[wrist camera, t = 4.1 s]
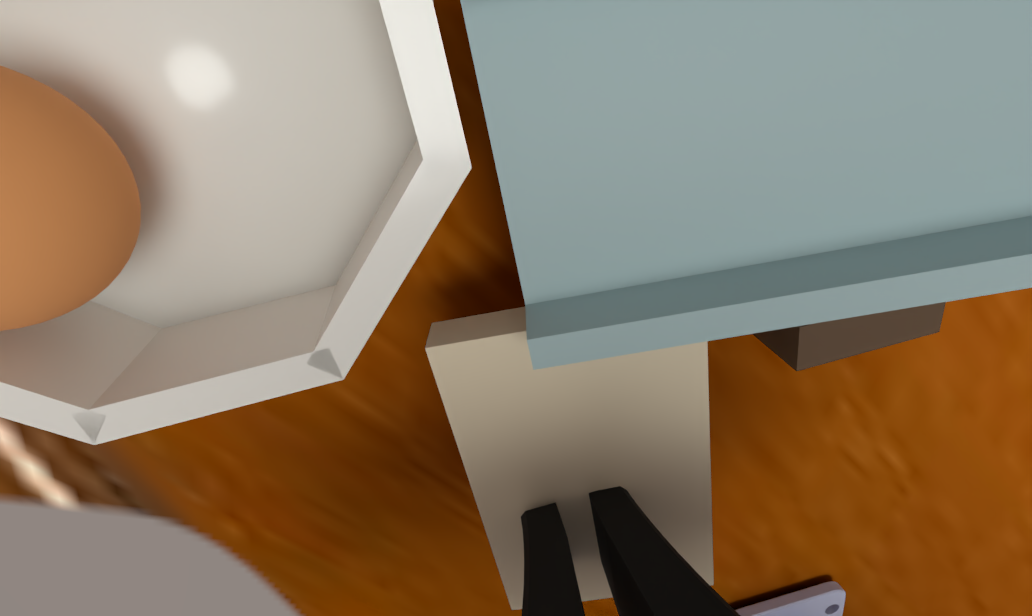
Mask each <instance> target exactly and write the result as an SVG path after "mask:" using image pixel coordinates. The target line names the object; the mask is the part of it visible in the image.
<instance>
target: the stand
mask: <svg viewBox="0 0 1032 616" xmlns="http://www.w3.org/2000/svg"><path fill="white" fill-rule="evenodd" d="M945 303H946V302H941V303H935V304H929V305H923V306H917V307H911V308H905V309H899V310H893V311H887V312H881V313H875V314H869V315H863V316H857V317H851V318H845V319H839V320H833V321H826V322H820V323H814V324H808V325H802V326H796V327H790V328H784V329H778V330H772V331H766V332H760V333H754V334H753V335H754V336H756V337H757V338H758V339H759V340H760V341H761V342H763V343H764V344H765V345H766V346H767V347H769V348H770V349H771V350H772V351H773V352H774V353H776V354H777V355H778V356H779V357H780V358H782V359H783V360H784V361H785V362H786V363H787V364H789V365H790V366H791V367H792V368H793V369H795V370H796V371H799V370H803V369H807V368H810V367H814V366H817V365H821V364H825V363H828V362H832V361H835V360H839V359H843V358H846V357H850V356H854V355H857V354H861V353H864V352H868V351H872V350H875V349H879V348H882V347H886V346H890V345H893V344H897V343H901V342H904V341H908V340H911V339H915V338H919V337H922V336H926V335H929V334H933V333H937V332H939V330H940V325H941V321H942V316H943V312H944V307H945Z"/></svg>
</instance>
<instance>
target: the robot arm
mask: <svg viewBox="0 0 1032 616" xmlns="http://www.w3.org/2000/svg"><path fill="white" fill-rule="evenodd" d="M589 498H590V503H591V509H592V514H593V520H594V525H595V531H596V536H597V542H598V547H599V553H600V558H601V562H602V565H603V568H604V571H605V574H606V578H607V581H608V584H609V587H610V590H611V593H612V596H613V599H614V601H615V604H616V607H617V610H618V613H619V616H842V615H843V609H844V603H845V597H846V593H845V591H844V590H843V588H842V587H841V586H840V585H839V584H838V583H837V582H833V581H829V582H825V583H821V584H818V585H815V586H812V587H808V588H805V589H802V590H798V591H795V592H792V593H789V594H785V595H782V596H779V597H776V598H772V599H769V600H766V601H762V602H759V603H756V604H753V605H749V606H746V607H743V608H739V609H736V610H734V609H733V608H732V607H731V606H730V605H729V604H728V603H727V602H726V601H725V600H724V599H723V598H722V597H721V596H720V595H719V594H718V593H717V592H716V591H715V590H714V589H713V588H712V587H711V586H710V585H709V584H708V583H707V582H706V581H705V580H704V579H703V578H702V577H701V576H700V575H699V574H698V573H697V572H696V571H695V570H694V569H693V568H692V567H691V566H690V564H689V563H688V562H687V561H686V560H685V559H684V558H683V557H682V556H681V555H680V554H679V553H678V552H677V551H676V550H675V548H674V547H673V546H672V545H671V544H670V543H669V542H668V541H667V540H666V538H665V537H664V536H663V535H662V534H661V533H660V531H659V530H658V529H657V528H656V527H655V526H654V524H653V523H652V522H651V521H650V520H649V518H648V517H647V516H646V515H645V514H644V512H643V511H642V510H641V509H640V507H639V506H638V505H637V503H636V502H635V501H634V499H633V498H632V497H631V495H630V494H629V493H628V491H627V490H626V489H624V488H623V487H621V486H618V487H613V488H608V489H602V490H597V491H594V492H590V493H589ZM521 522H522V529H523V542H524V589H523V604H522V616H585V614H584V609H583V605H582V600H581V596H580V591H579V587H578V582H577V578H576V573H575V569H574V564H573V560H572V555H571V551H570V546H569V542H568V537H567V534H566V531H565V528H564V525H563V522H562V519H561V516H560V513H559V510H558V507H557V505H556V502H555V503H551V504H548V505H544V506H541V507H537V508H534V509H530V510H527V511H525V512H524V513H523V514H522V516H521Z"/></svg>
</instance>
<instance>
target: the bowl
mask: <svg viewBox="0 0 1032 616" xmlns="http://www.w3.org/2000/svg"><path fill="white" fill-rule="evenodd" d="M0 66H4V67H6V68H9V69H11V70H14V71H16V72H19V73H22V74H24V75H27V76H29V77H31V78H33V79H35V80H37V81H39V82H41V83H43V84H45V85H47V86H49V87H51V88H52V89H54V90H56V91H57V92H59V93H60V94H62V95H64V96H65V97H67V98H68V99H70V100H71V101H73V102H74V103H75V104H76V105H78V106H79V107H80V108H82V109H83V110H84V111H86V112H87V113H88V114H89V115H90V116H91V117H92V118H93V119H94V120H95V121H96V122H97V123H99V124H100V125H101V126H102V127H103V128H104V130H105V131H106V132H107V133H108V134H109V136H110V137H111V138H112V139H113V140H114V141H115V143H116V144H117V146H118V147H119V149H120V150H121V152H122V153H123V155H124V156H125V158H126V160H127V162H128V164H129V166H130V168H131V171H132V173H133V175H134V178H135V181H136V184H137V187H138V192H139V198H140V204H141V224H140V230H139V235H138V239H137V242H136V245H135V247H134V250H133V252H132V254H131V256H130V259H129V260H128V262H127V263H126V265H125V266H124V268H123V269H122V271H121V272H120V274H119V275H118V276H117V277H116V278H115V279H114V280H113V281H112V283H111V284H110V285H109V286H108V287H107V288H105V289H104V290H103V291H102V292H101V293H99V294H98V295H97V296H96V297H94V298H93V299H91V300H90V301H88V302H86V303H85V304H83V305H82V306H80V307H78V308H76V309H74V310H72V311H70V312H68V313H66V314H64V315H62V316H59V317H57V318H54V319H51V320H48V321H45V322H42V323H39V324H35V325H31V326H27V327H22V328H17V329H10V330H3V331H0V417H2V418H6V419H9V420H12V421H16V422H19V423H22V424H26V425H29V426H32V427H36V428H39V429H42V430H46V431H49V432H53V433H56V434H59V435H63V436H66V437H69V438H73V439H76V440H79V441H83V442H86V443H89V444H93V445H96V444H100V443H104V442H108V441H111V440H115V439H119V438H123V437H127V436H130V435H134V434H138V433H142V432H146V431H149V430H153V429H157V428H161V427H165V426H169V425H172V424H176V423H180V422H184V421H188V420H191V419H195V418H199V417H203V416H207V415H211V414H214V413H218V412H222V411H226V410H230V409H233V408H237V407H241V406H245V405H249V404H252V403H256V402H260V401H264V400H268V399H272V398H275V397H279V396H283V395H287V394H291V393H294V392H298V391H302V390H306V389H310V388H313V387H317V386H321V385H325V384H329V383H333V382H336V381H340V380H343V379H344V378H345V376H346V375H347V373H348V372H349V370H350V368H351V367H352V365H353V363H354V362H355V360H356V358H357V357H358V355H359V353H360V352H361V350H362V348H363V347H364V345H365V343H366V342H367V340H368V338H369V337H370V335H371V334H372V332H373V330H374V329H375V327H376V325H377V324H378V322H379V320H380V319H381V317H382V315H383V314H384V312H385V310H386V309H387V307H388V305H389V304H390V302H391V300H392V299H393V297H394V296H395V294H396V292H397V291H398V289H399V287H400V286H401V284H402V282H403V281H404V279H405V277H406V276H407V274H408V272H409V271H410V269H411V267H412V266H413V264H414V262H415V261H416V259H417V257H418V256H419V254H420V253H421V251H422V249H423V248H424V246H425V244H426V243H427V241H428V239H429V238H430V236H431V234H432V233H433V231H434V229H435V228H436V226H437V224H438V223H439V221H440V219H441V218H442V216H443V215H444V213H445V211H446V210H447V208H448V206H449V205H450V203H451V201H452V200H453V198H454V196H455V195H456V193H457V191H458V190H459V188H460V186H461V185H462V183H463V181H464V180H465V178H466V177H467V175H468V173H469V172H470V170H471V167H472V166H471V162H470V158H469V153H468V149H467V145H466V141H465V136H464V132H463V128H462V124H461V119H460V115H459V111H458V107H457V102H456V98H455V94H454V90H453V85H452V81H451V77H450V73H449V68H448V64H447V60H446V56H445V51H444V47H443V43H442V39H441V34H440V30H439V26H438V22H437V17H436V13H435V9H434V5H433V0H0Z"/></svg>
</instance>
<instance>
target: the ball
mask: <svg viewBox="0 0 1032 616" xmlns="http://www.w3.org/2000/svg"><path fill="white" fill-rule="evenodd" d="M140 224H141V204H140V198H139V192H138V187H137V184H136V181H135V178H134V175H133V173H132V171H131V168H130V166H129V164H128V162H127V160H126V158H125V156H124V155H123V153H122V152H121V150H120V149H119V147H118V146H117V144H116V143H115V141H114V140H113V139H112V138H111V137H110V136H109V134H108V133H107V132H106V131H105V130H104V128H103V127H102V126H101V125H100V124H99V123H97V122H96V121H95V120H94V119H93V118H92V117H91V116H90V115H89V114H88V113H87V112H86V111H84V110H83V109H82V108H80V107H79V106H78V105H76V104H75V103H74V102H73V101H71V100H70V99H68V98H67V97H65V96H64V95H62V94H60V93H59V92H57V91H56V90H54V89H52V88H51V87H49V86H47V85H45V84H43V83H41V82H39V81H37V80H35V79H33V78H31V77H29V76H27V75H24V74H22V73H19V72H16V71H14V70H11V69H9V68H6V67H4V66H0V331H3V330H10V329H17V328H22V327H27V326H31V325H35V324H39V323H42V322H45V321H48V320H51V319H54V318H57V317H59V316H62V315H64V314H66V313H68V312H70V311H72V310H74V309H76V308H78V307H80V306H82V305H83V304H85V303H86V302H88V301H90V300H91V299H93V298H94V297H96V296H97V295H98V294H99V293H101V292H102V291H103V290H104V289H105V288H107V287H108V286H109V285H110V284H111V283H112V281H113V280H114V279H115V278H116V277H117V276H118V275H119V274H120V272H121V271H122V269H123V268H124V266H125V265H126V263H127V262H128V260H129V259H130V256H131V254H132V252H133V250H134V247H135V245H136V242H137V239H138V235H139V230H140Z"/></svg>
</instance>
